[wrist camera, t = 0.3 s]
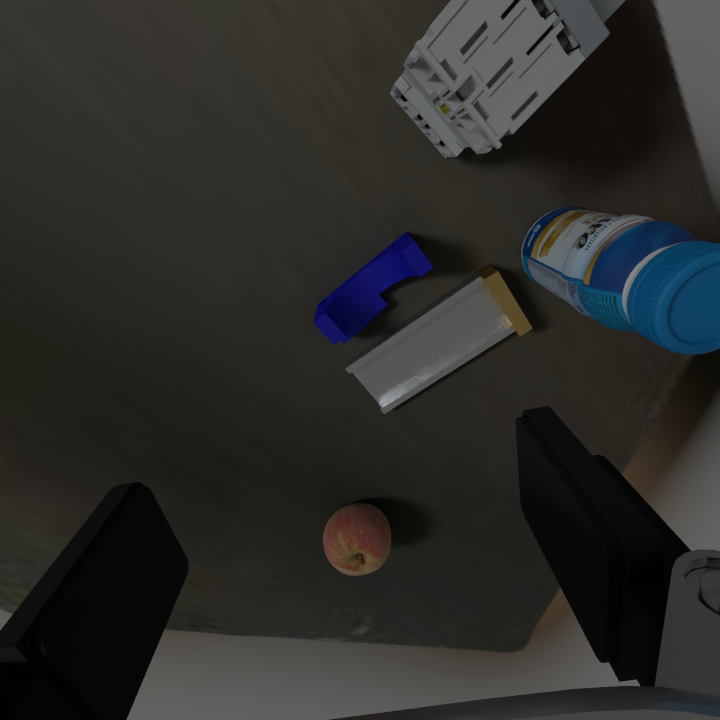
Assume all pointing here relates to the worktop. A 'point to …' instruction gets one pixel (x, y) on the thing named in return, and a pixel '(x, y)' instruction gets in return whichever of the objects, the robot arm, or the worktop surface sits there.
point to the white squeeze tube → (439, 339)
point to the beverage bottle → (630, 275)
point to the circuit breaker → (495, 66)
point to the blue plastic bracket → (369, 290)
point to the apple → (357, 539)
